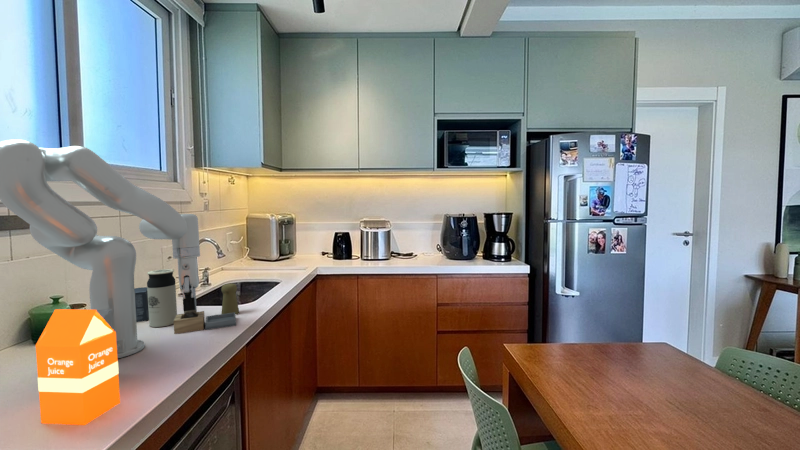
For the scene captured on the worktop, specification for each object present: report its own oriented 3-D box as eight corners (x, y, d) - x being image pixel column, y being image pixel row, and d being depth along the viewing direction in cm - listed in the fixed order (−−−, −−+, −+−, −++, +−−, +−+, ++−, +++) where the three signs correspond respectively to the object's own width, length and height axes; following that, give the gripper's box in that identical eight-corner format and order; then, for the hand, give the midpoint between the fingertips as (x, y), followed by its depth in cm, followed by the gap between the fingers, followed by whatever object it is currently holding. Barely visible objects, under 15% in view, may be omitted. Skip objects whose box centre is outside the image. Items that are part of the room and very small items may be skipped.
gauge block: (203, 329, 117) (202, 317, 117) (174, 333, 114) (173, 321, 114) (204, 322, 125) (204, 311, 124) (177, 326, 121) (176, 314, 121)
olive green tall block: (218, 314, 135) (217, 284, 134) (235, 310, 139) (233, 281, 138) (225, 317, 130) (223, 286, 130) (242, 313, 135) (240, 283, 134)
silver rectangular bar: (196, 323, 119) (194, 280, 118) (184, 325, 117) (181, 281, 116) (197, 320, 122) (195, 278, 121) (185, 321, 120) (182, 279, 119)
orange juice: (80, 401, 74) (74, 303, 73) (121, 402, 74) (115, 304, 73) (39, 424, 67) (31, 315, 66) (84, 425, 66) (76, 315, 65)
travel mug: (168, 319, 129) (165, 268, 128) (182, 321, 126) (179, 269, 125) (144, 326, 122) (141, 272, 121) (158, 329, 119) (155, 273, 118)
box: (136, 316, 133) (135, 287, 133) (154, 315, 135) (153, 286, 135) (127, 323, 126) (126, 292, 125) (146, 321, 128) (145, 291, 127)
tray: (236, 325, 121) (235, 319, 121) (205, 329, 117) (204, 323, 117) (235, 318, 129) (235, 312, 129) (206, 322, 125) (206, 316, 125)
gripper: (198, 254, 112) (201, 313, 113) (201, 248, 127) (204, 301, 128) (169, 256, 109) (173, 317, 110) (176, 250, 124) (179, 304, 125)
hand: (189, 308), depth 119 cm, fingers closed on silver rectangular bar, 3 cm apart
